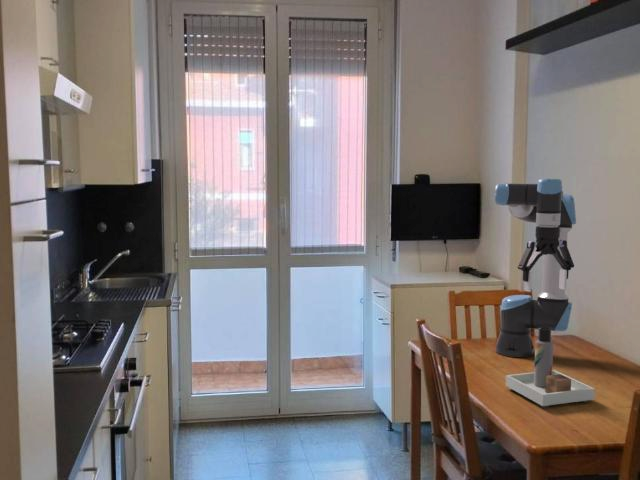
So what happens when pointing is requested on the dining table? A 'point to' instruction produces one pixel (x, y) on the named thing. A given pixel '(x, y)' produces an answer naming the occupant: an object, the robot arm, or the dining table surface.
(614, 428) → the dining table surface
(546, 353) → the lotion bottle
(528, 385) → the tray
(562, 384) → the walnut block
